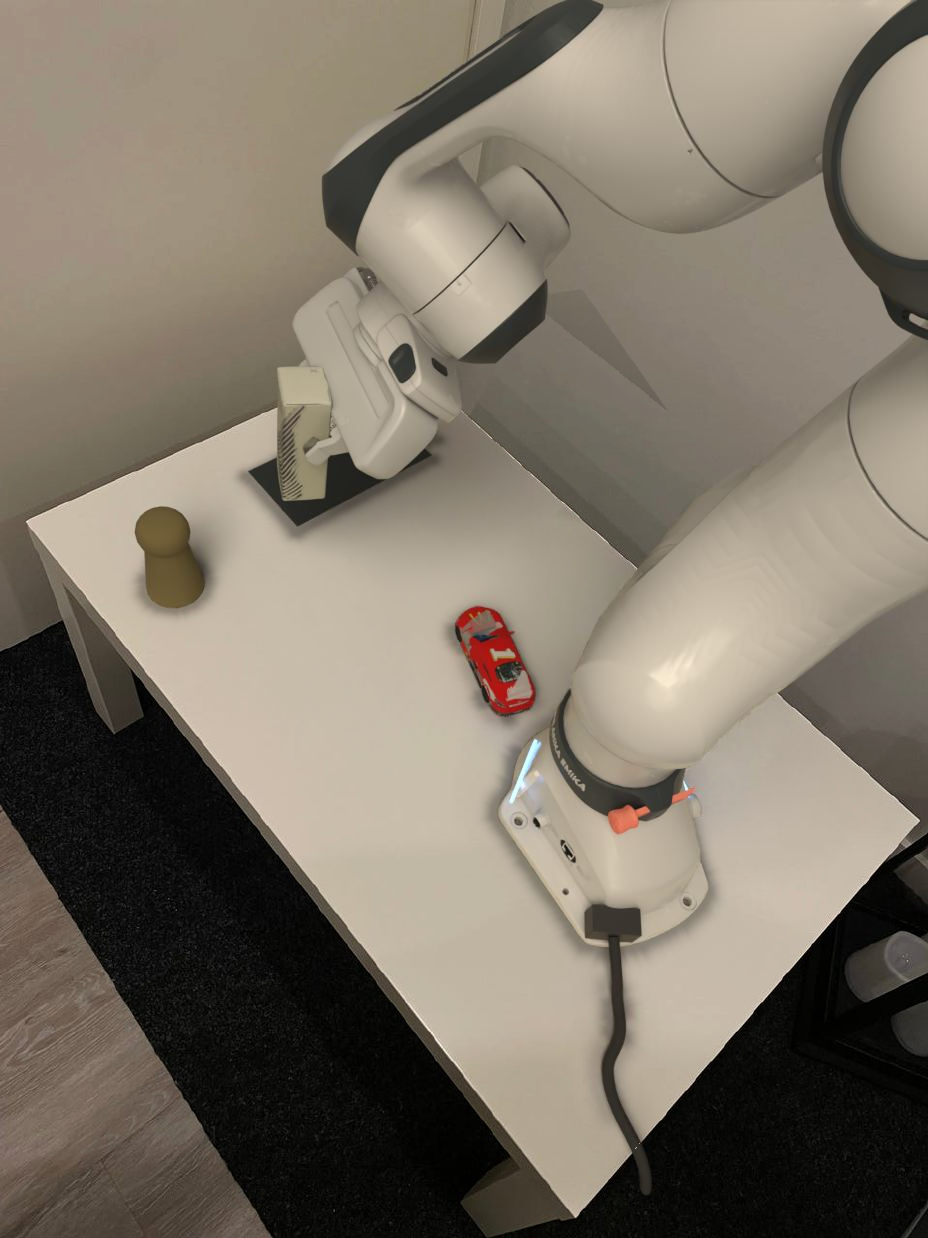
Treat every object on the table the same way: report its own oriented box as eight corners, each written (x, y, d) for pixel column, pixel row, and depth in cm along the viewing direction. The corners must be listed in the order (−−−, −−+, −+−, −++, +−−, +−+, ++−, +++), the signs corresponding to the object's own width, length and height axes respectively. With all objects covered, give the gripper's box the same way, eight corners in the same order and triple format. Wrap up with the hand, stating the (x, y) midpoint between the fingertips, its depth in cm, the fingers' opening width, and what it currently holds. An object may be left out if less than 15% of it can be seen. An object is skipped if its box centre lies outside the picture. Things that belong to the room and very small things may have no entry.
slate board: (297, 532, 99) (297, 526, 99) (248, 476, 103) (247, 470, 102) (431, 460, 108) (432, 454, 107) (381, 411, 112) (382, 405, 111)
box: (276, 465, 87) (274, 363, 77) (319, 462, 89) (324, 361, 78) (282, 504, 85) (282, 404, 74) (327, 501, 86) (333, 402, 75)
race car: (447, 620, 96) (452, 600, 93) (492, 609, 98) (498, 589, 94) (490, 724, 90) (497, 706, 86) (537, 711, 91) (546, 693, 88)
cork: (210, 566, 95) (199, 502, 86) (196, 612, 92) (182, 550, 83) (155, 557, 95) (138, 491, 86) (138, 603, 91) (118, 539, 82)
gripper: (342, 238, 78) (242, 342, 83) (426, 395, 69) (307, 502, 74) (386, 275, 83) (289, 371, 88) (469, 425, 74) (355, 523, 79)
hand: (298, 432), depth 81 cm, fingers closed on box, 5 cm apart
